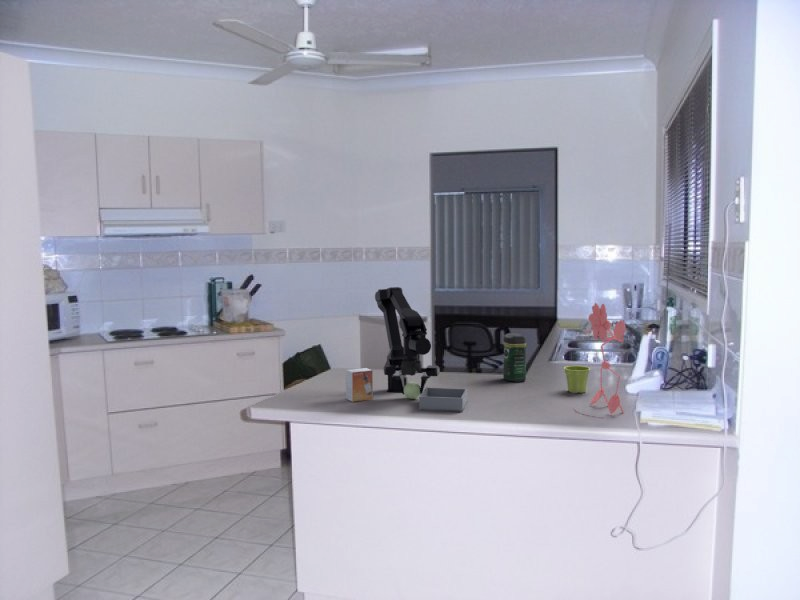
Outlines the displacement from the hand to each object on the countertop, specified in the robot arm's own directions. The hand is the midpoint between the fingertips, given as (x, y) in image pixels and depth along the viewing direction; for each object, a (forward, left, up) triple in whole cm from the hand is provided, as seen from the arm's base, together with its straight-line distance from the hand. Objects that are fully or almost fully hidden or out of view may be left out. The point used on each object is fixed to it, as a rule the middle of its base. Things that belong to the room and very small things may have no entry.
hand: (412, 394), depth 236 cm
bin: (+12, -8, -2) cm, 15 cm away
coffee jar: (+34, +38, -2) cm, 51 cm away
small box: (-18, -4, -2) cm, 19 cm away
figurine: (+62, -6, -2) cm, 62 cm away
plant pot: (+57, +21, -2) cm, 61 cm away
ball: (0, 0, -2) cm, 2 cm away
